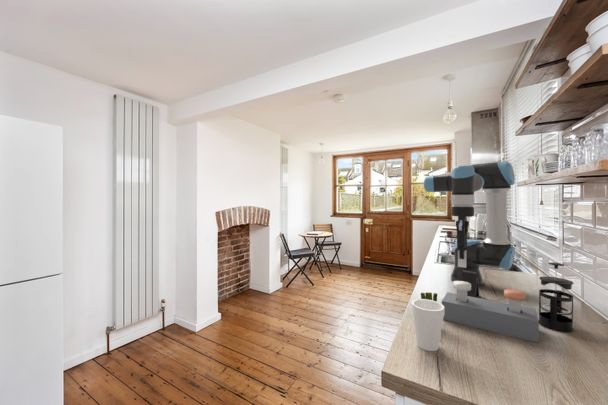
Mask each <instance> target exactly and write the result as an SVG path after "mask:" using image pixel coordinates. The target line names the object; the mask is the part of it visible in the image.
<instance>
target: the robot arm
mask: <svg viewBox="0 0 608 405" xmlns="http://www.w3.org/2000/svg"><path fill="white" fill-rule="evenodd" d="M514 171H515V170H514V168H513V165H512V163H510V162H508V161H496V162H487V163H486V162H485V163H474V164H470V165H469V164H468V165H457V166H454V167H453V168H451V171H449V172H446V173H441V174H437V175H436V174H435V175H433V174H432V175H426V176H425V177H424V180H423V188H424V190H425V192H427V193H444V192H446V193H449V192H451V197H450V198H449V200H451V205H452V207H451V209H450V210H451V213H450V214H451V216H453V217H457V220H456V221H455V228H456V241H455V242H454V248H453V250H454V267H453V270H452V273H451V274H450V281H452V283H453V282H454V281H462V271H463V270H467V271H473V272H478V283H479V286H482V285H483V284H484V280H483V277H482V273H481V271H480V266H485V267H491V268H497V269H505V270H508V269H511V267H512V266H513V263H514V260H515V254H516V248H515V246H513V245H511V244H512V243H511V241H510V240H509V239H508V222H507V221H508V208H507V207H508V203H507V202H508V197H507V196H508V192H509V191H510V190H511V186H513V185H515V183H516V177H515V172H514ZM481 189H482V190H483V191H484V192H485V206H486V207H485V212H486V213H485V215H486V216H485V218H486V219H485V220H486V221H485V222H486V225H485V226H486V230H485V231H486V232H485V233H486V237H485V238H484V239H483V240H482V243H480V240H479V239H468V232H469V224H470V221H468V219H467V217H469V218H472V217H474V216H475V207H474V205H475V192H478V191H480V190H481Z"/></svg>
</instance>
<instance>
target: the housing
mask: <svg viewBox="0 0 608 405" xmlns="http://www.w3.org/2000/svg"><path fill="white" fill-rule="evenodd" d="M441 304H442V305H443V306H444V307H445V315H444V317H443V321H449V322H452V323H456V324H460V325H465V326H469V327H473V328H476V329H481V330H485V331H489V332H493V333H496V334H500V335H505V336H509V337H512V336H513V338H516V337H517V339H520V338H521V340H524V341H529V342H532V343H536V342H537V344H538V343H539V342H540V340H539V338H540V337H539V332H540V331H539V329H540V326H539V325H540V324H539V315H538V313H537V309H536V308H532V307H527V306H522V305H521V313H516V312H511V311H509V303H507V302H502V301H496V300H491V299H484V298H480V297H478V298H476V297H470V296H467V302H462V301H457V293H453V292H448V291H447V292H446V294H445V295H444V297H443V298H442V300H441Z"/></svg>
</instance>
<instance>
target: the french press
mask: <svg viewBox="0 0 608 405" xmlns="http://www.w3.org/2000/svg"><path fill="white" fill-rule="evenodd" d="M548 265H551V266H553V268H554V270H555V272H554V274H555V275H554V276H545V275H544V276H543V275H542V276H539V280H540V284H541V285H542V286H546V285H548V284H554V289H548V288H544V289H542V288H541V289H539V290H538V291H539V292H538V308H539V309H538V320H539V325H540V326H542V327H543V328H546V329H547V330H552V331H554V332H560V333H568V334H570V333H574V332H575V329H574V295H572V294H571V293H568V292H565V291H562V290H558V289H557V286H559V287H561V288H562V289H565V290H566V291H567V290H568V291H569V290H573V289H572V287H573V286H572V285H574V282H573V281H571V280H569V279H565V278H561V277H558V276H557V273H558V269H559V266H560V267H564V266H565V264H563V263H559V262H553V261H552V262H548ZM550 294H553V295H550ZM542 297H543V298H546V299H548V300H550V301H549V302H550V303H542V301H541V300H542ZM565 302H567V303H571V309H569V308H566V307H563V303H565ZM541 309H542V310H543V311H542V310H541ZM568 316H571V318H570V317H568Z"/></svg>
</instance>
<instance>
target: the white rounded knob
mask: <svg viewBox="0 0 608 405" xmlns="http://www.w3.org/2000/svg"><path fill="white" fill-rule="evenodd" d="M452 284H453V285H452V286H453V289H455V290H456V294H457V301H462V302H467V291H470V290H471V284H470V283H468V282H465V281H454V282H453V281H452Z"/></svg>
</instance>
